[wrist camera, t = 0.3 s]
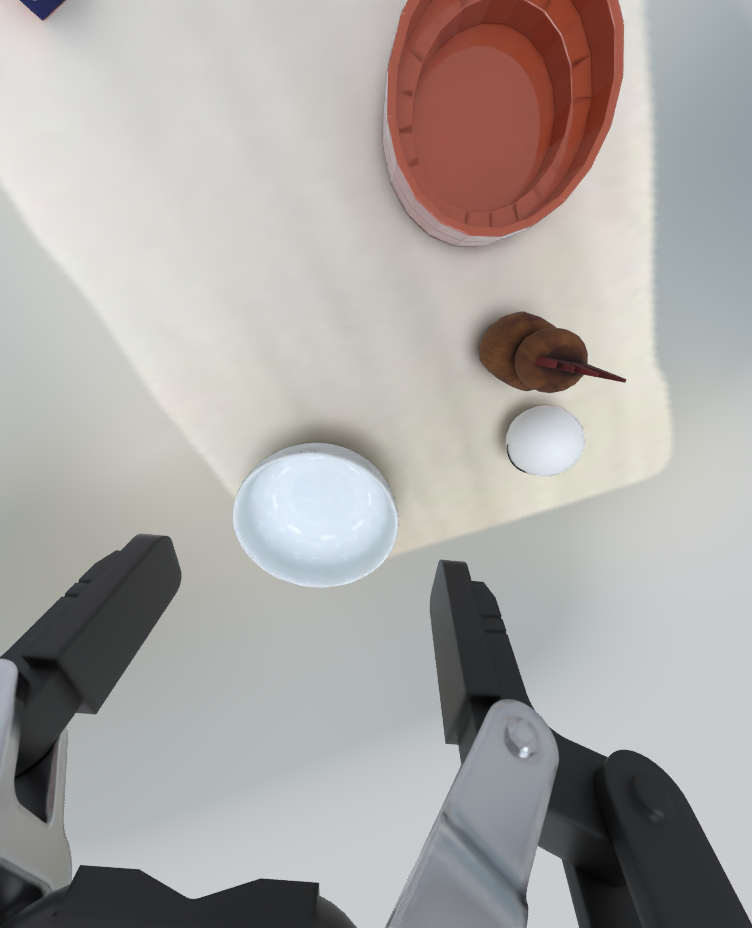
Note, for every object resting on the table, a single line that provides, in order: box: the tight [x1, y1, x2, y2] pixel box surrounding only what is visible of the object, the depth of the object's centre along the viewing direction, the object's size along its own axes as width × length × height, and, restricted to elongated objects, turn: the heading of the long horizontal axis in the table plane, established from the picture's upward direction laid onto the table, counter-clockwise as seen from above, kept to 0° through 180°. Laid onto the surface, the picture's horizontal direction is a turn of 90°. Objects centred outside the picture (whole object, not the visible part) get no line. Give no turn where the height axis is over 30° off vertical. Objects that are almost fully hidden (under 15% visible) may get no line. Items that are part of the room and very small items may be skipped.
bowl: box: [383, 0, 624, 246], centre depth 24 cm, size 15×15×6 cm
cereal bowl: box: [233, 443, 399, 587], centre depth 37 cm, size 17×17×7 cm
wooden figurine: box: [479, 312, 626, 393], centre depth 27 cm, size 7×6×15 cm
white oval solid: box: [505, 405, 585, 476], centre depth 35 cm, size 10×7×7 cm
